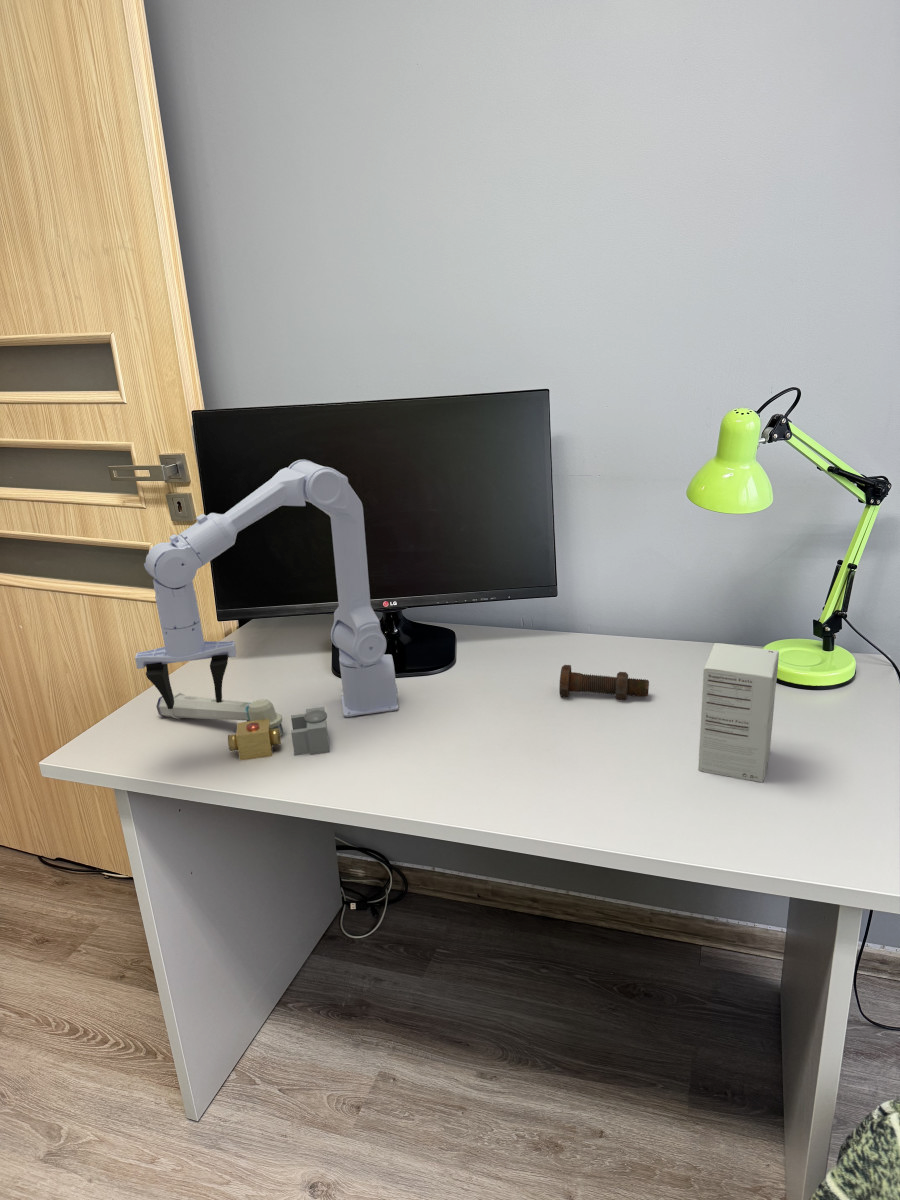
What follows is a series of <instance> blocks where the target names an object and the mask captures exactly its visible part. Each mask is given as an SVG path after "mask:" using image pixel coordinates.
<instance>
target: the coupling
mask: <svg viewBox="0 0 900 1200" xmlns="http://www.w3.org/2000/svg"><path fill="white" fill-rule="evenodd" d="M327 718H328V714H327V712H326V710H325V706H320V707H312V708H306V709H305V713H298V714H292V715H290V719H291V720H290V721H291V726H292V727H291V728H292V729H291V730H290V735H291V740H292V747H293V748H292V749H293V755H294V756H297V755H306V754H309V755H310V756H311V755H317V754H325V753H330V747H329V745H330V744H329V735H328V727H327V726H328V725H327Z"/></svg>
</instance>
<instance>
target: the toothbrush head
mask: <svg viewBox="0 0 900 1200" xmlns="http://www.w3.org/2000/svg"><path fill="white" fill-rule="evenodd" d="M173 697H174V706H173V709H168V707H167V705H166V703H165V701H164V699H163V697H162V696H160V697H159V698H158V700H157V702H156V705H155V707H156V709H157V714H158V715H160V716H161V717H166V718H174V719H176V720H181V719H201V720H224V721H227V720H228V721H245V722H248V721H255V720H263V719H269V721H270V728H271V729H276V728H279V729H280V735H281V736H282V734H283V733H284V728H283V725H282V723H283V715H282V714H281V713H280V712H276V710H275V707H274V704H273V702H272V701H271V700H269V699H264V698H263V699H257V700H254V701H252V702H250V701H249V702H247V701H239V700H230V699H222V701H221V702H220V703H217V702H216V698H211V697H203V696H192V695H186V694H183V693H182V692H178V693H176V694H173Z"/></svg>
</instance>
